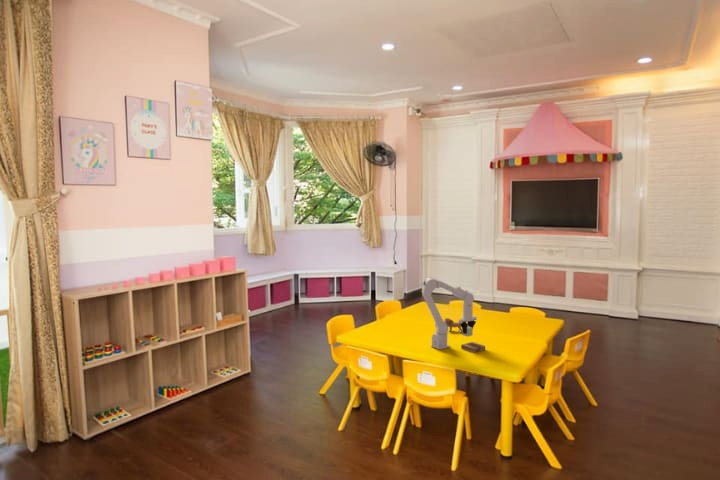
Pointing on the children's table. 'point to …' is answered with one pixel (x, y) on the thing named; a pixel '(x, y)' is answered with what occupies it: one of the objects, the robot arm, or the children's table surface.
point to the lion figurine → (452, 324)
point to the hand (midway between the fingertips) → (467, 332)
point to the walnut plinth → (473, 347)
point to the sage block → (468, 331)
